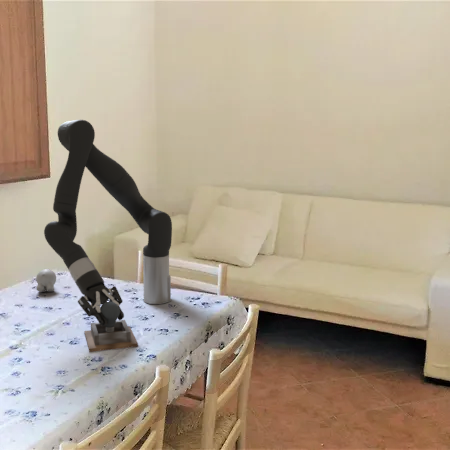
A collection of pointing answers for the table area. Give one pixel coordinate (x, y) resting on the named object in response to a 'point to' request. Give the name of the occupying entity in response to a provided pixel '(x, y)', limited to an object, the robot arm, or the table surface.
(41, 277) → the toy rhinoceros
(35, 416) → the table surface
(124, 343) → the socket stand
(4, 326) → the table surface
